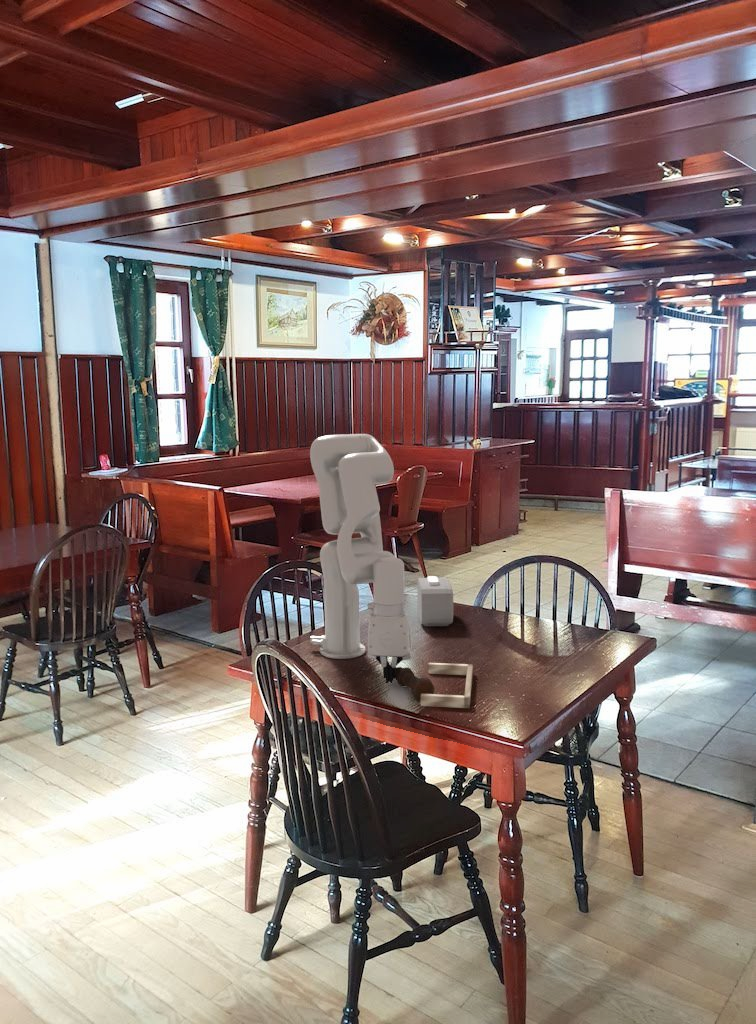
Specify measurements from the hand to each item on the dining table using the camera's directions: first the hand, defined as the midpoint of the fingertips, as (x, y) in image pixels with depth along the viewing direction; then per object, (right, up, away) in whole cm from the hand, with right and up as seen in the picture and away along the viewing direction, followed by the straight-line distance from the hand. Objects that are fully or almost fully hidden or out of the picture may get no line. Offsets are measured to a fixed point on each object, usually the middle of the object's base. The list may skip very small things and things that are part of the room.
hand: (389, 681), depth 200 cm
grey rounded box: (+15, +7, +55) cm, 58 cm away
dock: (+14, -2, -2) cm, 14 cm away
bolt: (+5, -2, -1) cm, 6 cm away
